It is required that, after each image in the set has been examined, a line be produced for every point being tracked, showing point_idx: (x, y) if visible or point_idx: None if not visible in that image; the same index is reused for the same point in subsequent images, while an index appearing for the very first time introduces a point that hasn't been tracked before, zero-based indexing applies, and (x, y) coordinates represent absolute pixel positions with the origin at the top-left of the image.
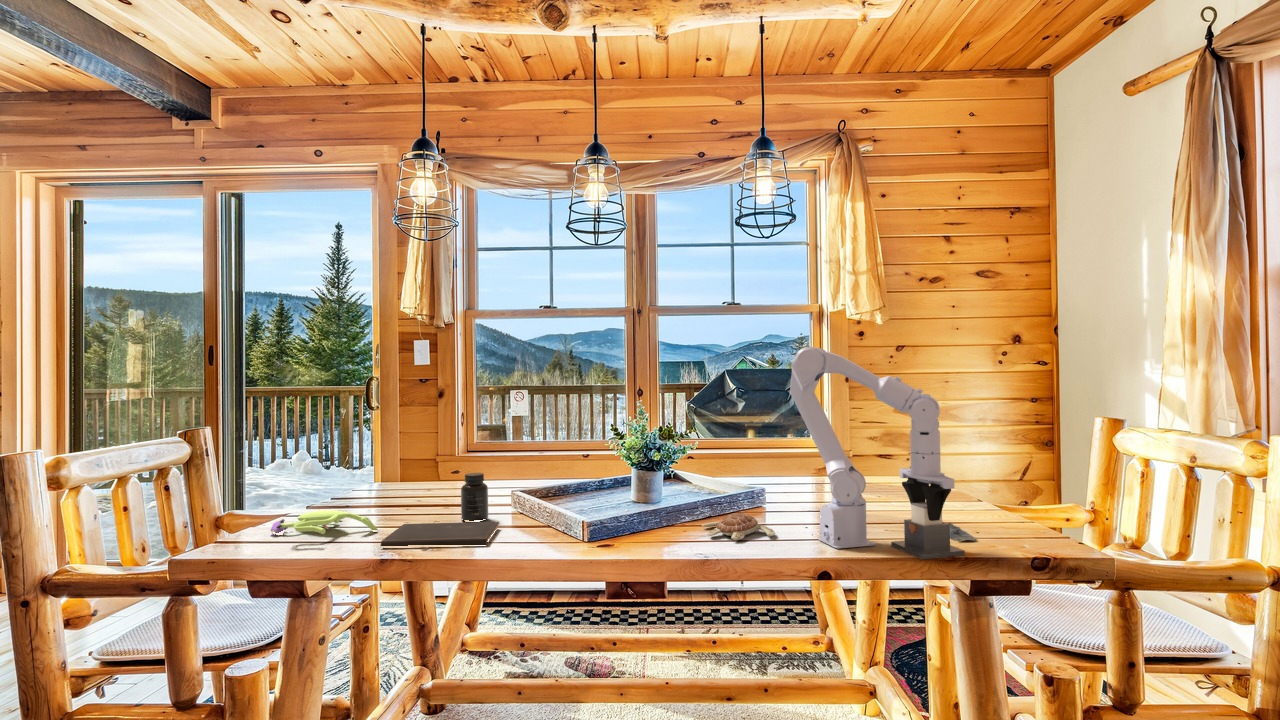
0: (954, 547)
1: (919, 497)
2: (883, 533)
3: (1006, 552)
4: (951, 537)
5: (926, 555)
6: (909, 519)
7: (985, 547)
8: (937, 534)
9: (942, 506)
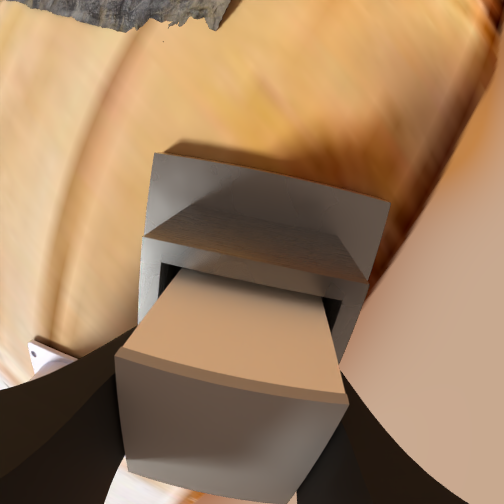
0: (334, 197)
1: (94, 453)
2: (8, 219)
3: (422, 14)
4: (151, 11)
5: None
6: None
7: (335, 5)
8: None
9: (385, 439)
